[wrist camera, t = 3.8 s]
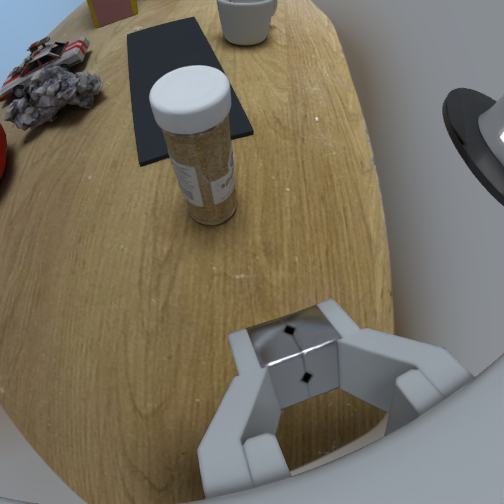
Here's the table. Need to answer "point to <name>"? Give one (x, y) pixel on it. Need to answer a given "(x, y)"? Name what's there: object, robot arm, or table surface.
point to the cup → (246, 20)
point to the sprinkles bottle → (198, 138)
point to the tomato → (2, 150)
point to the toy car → (43, 63)
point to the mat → (160, 63)
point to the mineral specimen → (52, 96)
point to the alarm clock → (111, 10)
